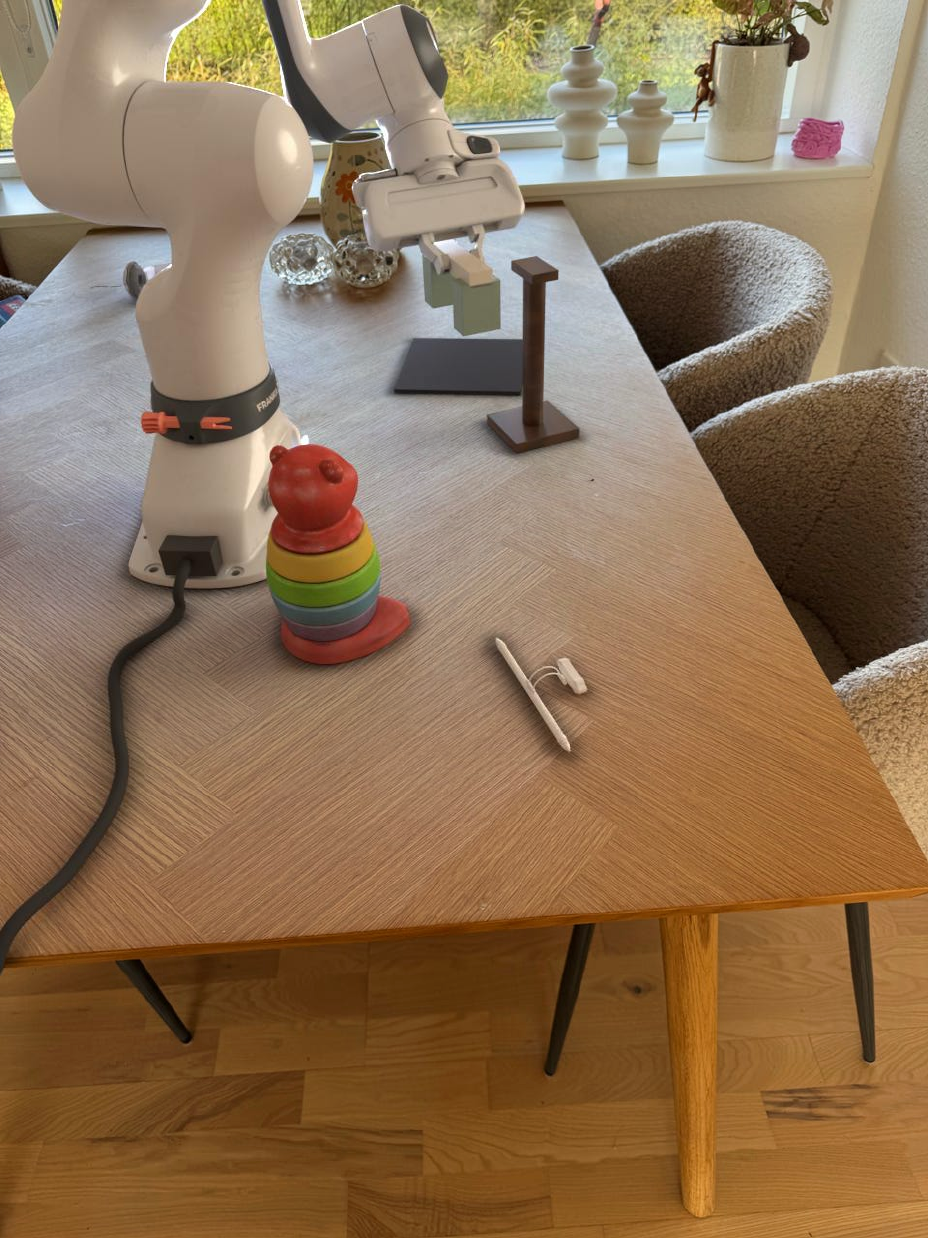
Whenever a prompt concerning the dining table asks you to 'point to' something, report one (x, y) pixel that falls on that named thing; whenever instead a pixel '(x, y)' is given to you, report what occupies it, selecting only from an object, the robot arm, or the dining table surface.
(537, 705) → the picture light
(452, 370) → the desk mat
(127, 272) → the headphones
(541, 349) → the stand
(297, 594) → the stacking bear
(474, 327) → the sage green twin blocks
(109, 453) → the dining table surface
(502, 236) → the dining table surface
